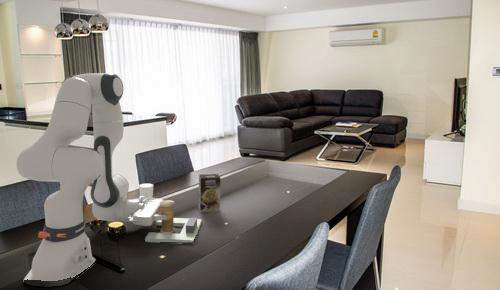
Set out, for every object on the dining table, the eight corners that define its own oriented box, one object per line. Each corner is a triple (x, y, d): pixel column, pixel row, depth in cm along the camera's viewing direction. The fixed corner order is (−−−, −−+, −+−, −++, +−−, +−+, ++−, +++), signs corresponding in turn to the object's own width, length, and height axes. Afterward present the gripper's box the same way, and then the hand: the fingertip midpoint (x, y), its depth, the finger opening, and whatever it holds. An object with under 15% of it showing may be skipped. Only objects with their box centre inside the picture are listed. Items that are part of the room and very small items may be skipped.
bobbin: (173, 234, 154) (172, 205, 152) (158, 233, 154) (158, 204, 152) (176, 228, 160) (175, 200, 157) (162, 227, 160) (161, 199, 157)
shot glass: (149, 202, 188) (149, 188, 186) (136, 200, 189) (136, 186, 188) (156, 197, 194) (155, 183, 193) (143, 196, 196) (142, 182, 194)
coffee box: (200, 212, 177) (200, 178, 173) (198, 207, 183) (198, 174, 179) (220, 211, 179) (220, 177, 176) (217, 206, 185) (218, 173, 182)
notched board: (193, 244, 147) (193, 232, 146) (145, 241, 147) (145, 230, 146) (201, 222, 166) (201, 212, 165) (159, 220, 167) (159, 210, 166)
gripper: (125, 213, 145) (162, 214, 144) (142, 194, 165) (175, 196, 164) (126, 229, 146) (163, 231, 146) (142, 209, 166) (175, 210, 166)
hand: (169, 212), depth 155 cm, fingers open, 8 cm apart
